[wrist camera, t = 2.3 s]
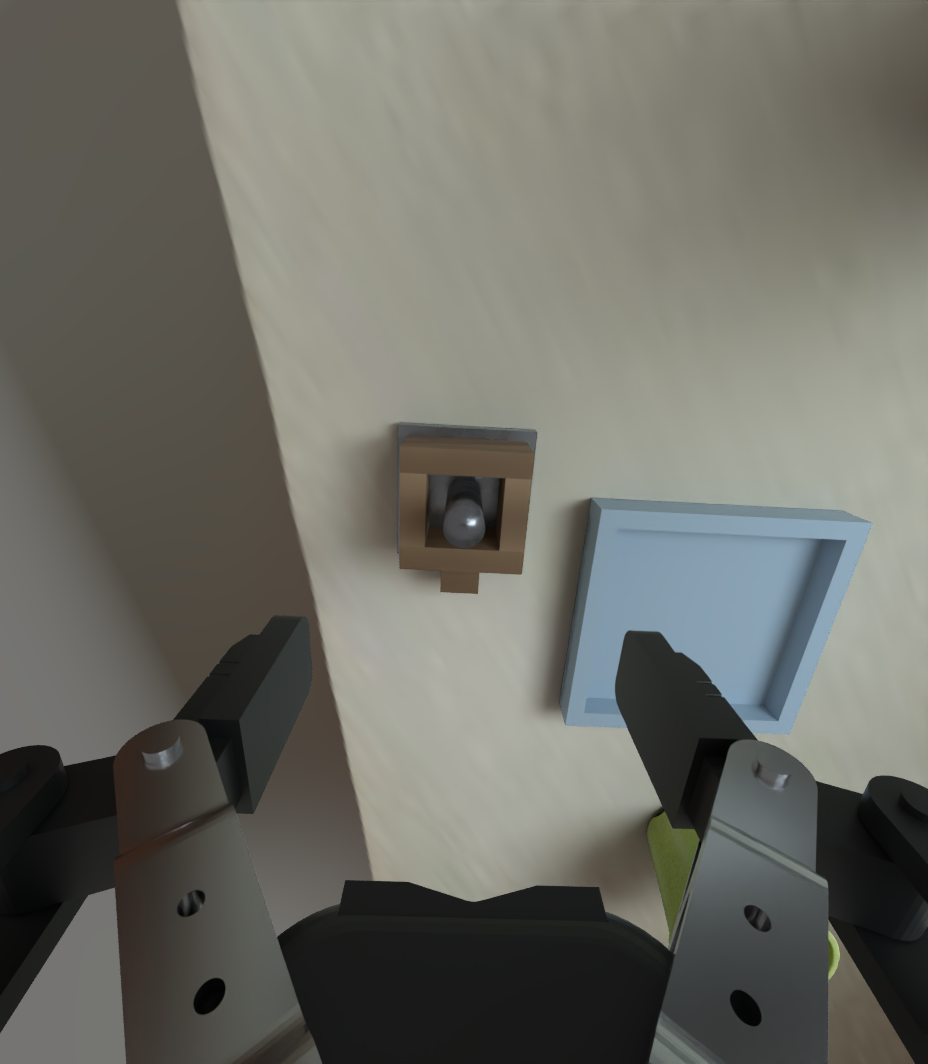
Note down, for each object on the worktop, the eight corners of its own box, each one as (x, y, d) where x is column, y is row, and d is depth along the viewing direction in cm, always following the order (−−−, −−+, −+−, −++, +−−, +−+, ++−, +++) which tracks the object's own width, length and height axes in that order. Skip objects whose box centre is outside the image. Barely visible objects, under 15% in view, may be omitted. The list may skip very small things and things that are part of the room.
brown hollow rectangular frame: (407, 435, 23) (400, 446, 20) (526, 441, 23) (534, 453, 21) (406, 577, 26) (399, 604, 23) (512, 582, 26) (517, 609, 23)
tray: (591, 497, 25) (601, 509, 23) (842, 510, 26) (872, 523, 24) (559, 702, 30) (565, 725, 28) (769, 711, 31) (789, 734, 29)
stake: (400, 422, 24) (381, 442, 18) (534, 429, 24) (555, 451, 19) (399, 547, 26) (382, 597, 21) (521, 553, 26) (536, 604, 21)
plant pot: (620, 788, 33) (671, 928, 25) (754, 771, 33) (851, 910, 24) (625, 874, 36) (672, 1022, 28) (747, 860, 36) (830, 1008, 28)
